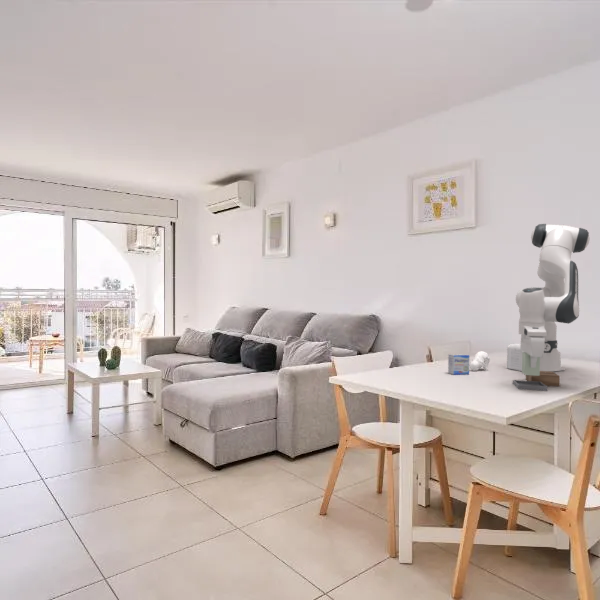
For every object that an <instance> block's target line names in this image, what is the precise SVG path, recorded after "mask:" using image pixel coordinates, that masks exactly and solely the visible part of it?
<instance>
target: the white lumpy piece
mask: <svg viewBox="0 0 600 600" xmlns="http://www.w3.org/2000/svg"><path fill="white" fill-rule="evenodd" d="M490 360H491V359H490V356H489V354H488V353H487V352H486V351H483V350H482V351H478V352H477V353H475V355H474V356H473V359H472V360H471V361H470V362H469V370H471V371H472V372H475V371H477V372H478V371H479V370H480V369H481V368H482V369H484V370H485V371H488V366H489V364H490Z"/></svg>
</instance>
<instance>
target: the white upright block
mask: <svg viewBox="0 0 600 600" xmlns="http://www.w3.org/2000/svg"><path fill="white" fill-rule="evenodd" d="M520 345H521V343H511V344H508V346H507V347H506V348H507V349H506V369H508V370H514V371H519V372H522V351H521V348H520Z"/></svg>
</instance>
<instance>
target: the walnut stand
mask: <svg viewBox="0 0 600 600" xmlns="http://www.w3.org/2000/svg"><path fill="white" fill-rule="evenodd" d="M560 377H561V376H560V375H559V374H557V373H555V371H540V376H534V375H525V381H537V382H542V383H543V384H544V385H546V386H547V387H549V386H551V387H560V385H561V383H560Z"/></svg>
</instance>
